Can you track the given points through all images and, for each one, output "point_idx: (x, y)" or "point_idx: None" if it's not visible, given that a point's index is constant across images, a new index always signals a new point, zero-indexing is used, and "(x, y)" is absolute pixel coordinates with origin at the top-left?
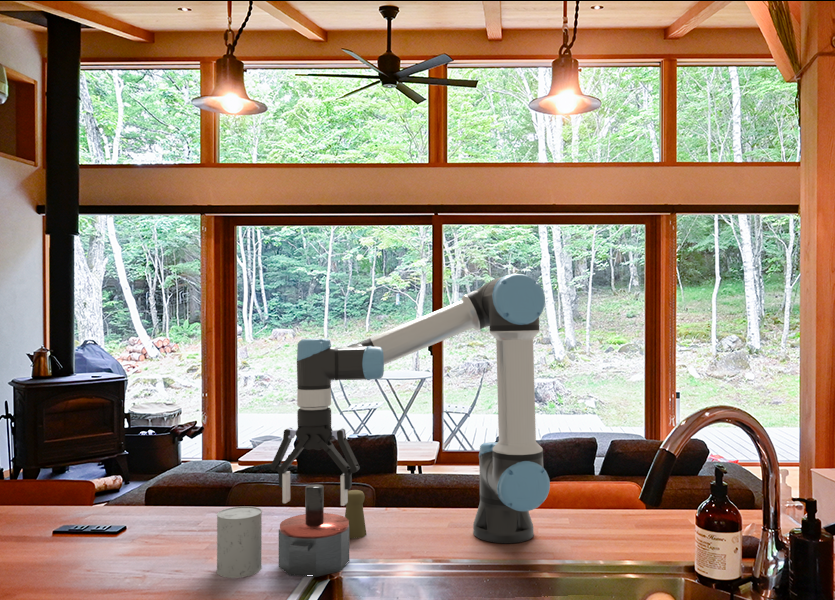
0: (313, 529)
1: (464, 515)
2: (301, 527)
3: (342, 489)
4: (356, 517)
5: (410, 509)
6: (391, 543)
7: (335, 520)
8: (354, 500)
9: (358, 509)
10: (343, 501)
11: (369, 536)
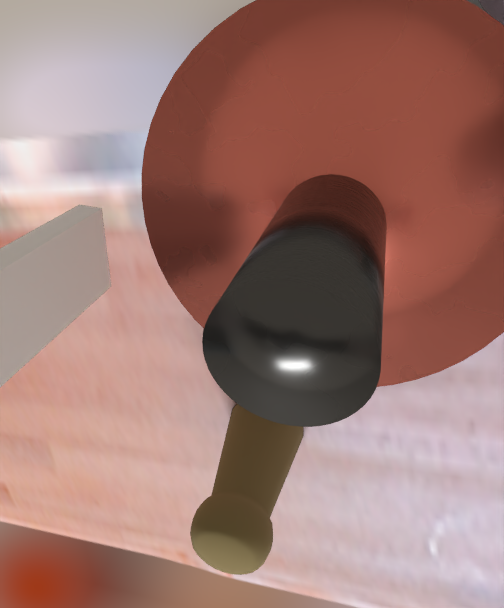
0: (308, 90)
1: (41, 499)
2: (400, 131)
3: (5, 255)
4: (235, 453)
5: (169, 555)
6: (139, 350)
7: (224, 269)
8: (220, 505)
9: (222, 479)
10: (63, 214)
11: (218, 408)
